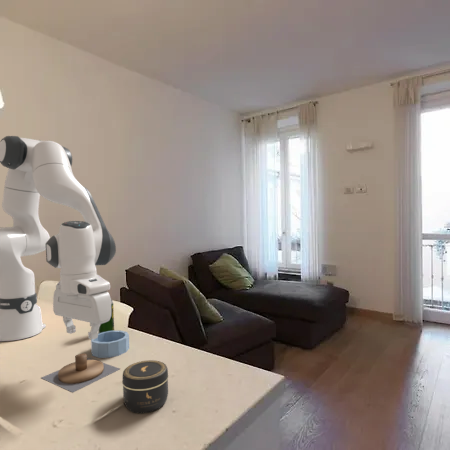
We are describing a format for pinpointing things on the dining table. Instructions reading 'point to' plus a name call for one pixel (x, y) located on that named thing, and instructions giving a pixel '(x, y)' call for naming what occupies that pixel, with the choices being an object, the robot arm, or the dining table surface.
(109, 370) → the mat
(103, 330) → the beer can
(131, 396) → the jar
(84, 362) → the lid
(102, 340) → the bowl
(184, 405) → the dining table surface
